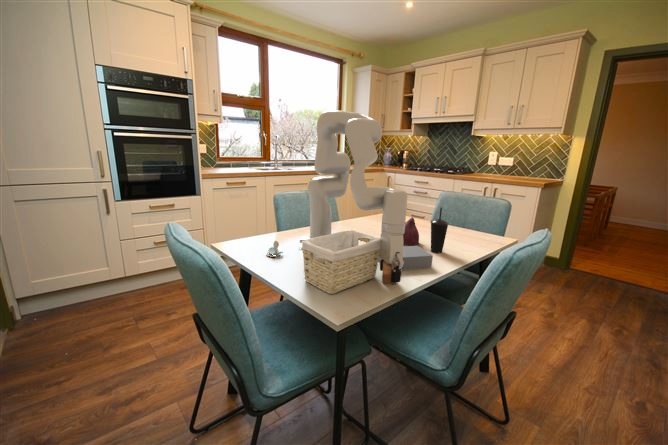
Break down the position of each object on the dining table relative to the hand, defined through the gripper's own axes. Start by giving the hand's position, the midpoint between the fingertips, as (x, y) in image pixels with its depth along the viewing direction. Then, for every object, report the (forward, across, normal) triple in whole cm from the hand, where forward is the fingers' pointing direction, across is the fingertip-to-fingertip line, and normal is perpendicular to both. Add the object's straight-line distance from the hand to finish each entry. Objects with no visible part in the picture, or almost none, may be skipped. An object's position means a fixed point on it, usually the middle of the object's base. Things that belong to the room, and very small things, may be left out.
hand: (389, 276), depth 105 cm
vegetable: (+2, -40, +26) cm, 48 cm away
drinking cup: (+2, -26, +33) cm, 42 cm away
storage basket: (+2, -4, -16) cm, 17 cm away
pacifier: (+2, -32, -38) cm, 50 cm away
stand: (+2, -15, +12) cm, 19 cm away
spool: (+2, 0, 0) cm, 2 cm away
